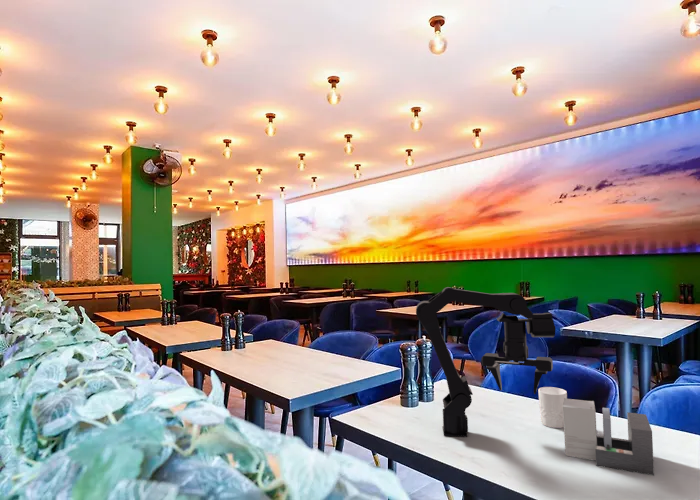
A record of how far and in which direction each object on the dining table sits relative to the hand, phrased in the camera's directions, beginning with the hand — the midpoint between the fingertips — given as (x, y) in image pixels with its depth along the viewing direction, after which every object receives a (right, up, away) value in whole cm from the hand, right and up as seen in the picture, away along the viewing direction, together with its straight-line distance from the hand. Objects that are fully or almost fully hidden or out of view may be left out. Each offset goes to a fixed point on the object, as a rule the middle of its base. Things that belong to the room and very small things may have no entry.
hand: (517, 392), depth 126 cm
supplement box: (+11, -12, -13) cm, 21 cm away
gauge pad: (+16, -10, -17) cm, 25 cm away
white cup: (+13, -12, +7) cm, 19 cm away
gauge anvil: (+19, -11, -18) cm, 28 cm away
